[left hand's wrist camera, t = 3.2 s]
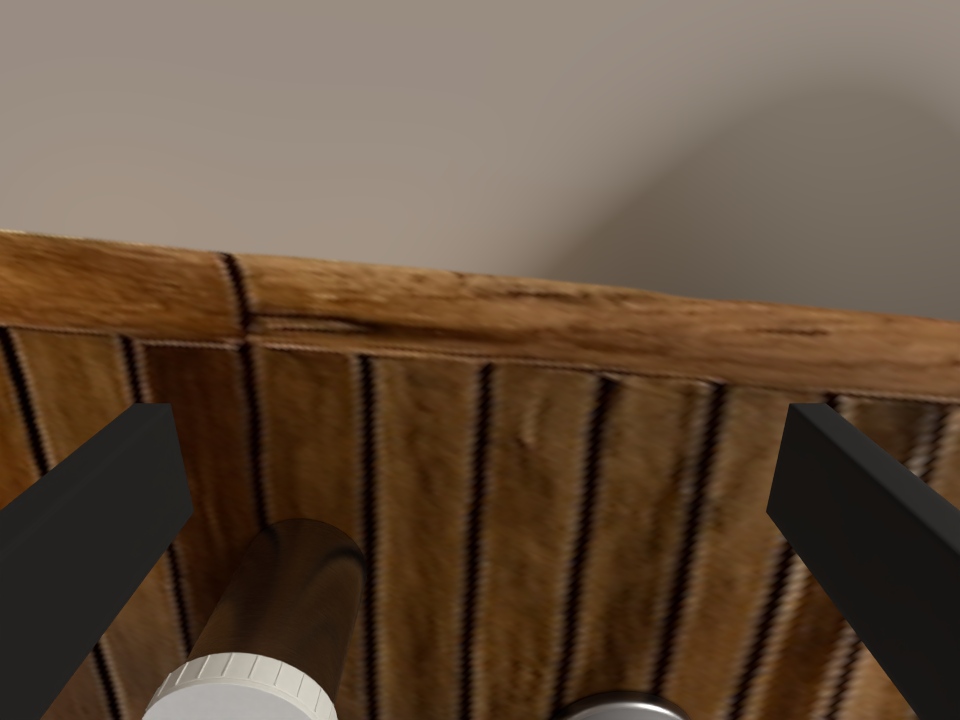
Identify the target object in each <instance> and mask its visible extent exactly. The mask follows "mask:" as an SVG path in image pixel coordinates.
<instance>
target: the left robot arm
mask: <svg viewBox="0 0 960 720" xmlns="http://www.w3.org/2000/svg"><path fill="white" fill-rule="evenodd" d="M193 512H194V510H193V505H192V501H191V496H190V491H189V487H188V482H187V478H186V473H185V468H184V464H183V459H182V454H181V450H180V445H179V441H178V436H177V431H176V427H175V422H174V418H173V413H172V408H171V404H170V403H134V404H133V405H132V406H131V407H129V408H128V409H127V410H126V411H124V412H123V413H122V414H121V415H119V416H118V417H117V418H116V419H114V420H113V421H112V422H111V423H109V424H108V425H107V426H106V427H104V428H103V429H102V430H101V431H99V432H98V433H97V434H96V435H94V436H93V437H92V438H91V439H89V440H88V441H87V442H86V443H84V444H83V445H82V446H81V447H79V448H78V449H77V450H76V451H74V452H73V453H72V454H71V455H69V456H68V457H67V458H66V459H64V460H63V461H62V462H61V463H59V464H58V465H57V466H56V467H54V468H53V469H52V470H51V471H49V472H48V473H47V474H46V475H44V476H43V477H42V478H41V479H39V480H38V481H37V482H36V483H34V484H33V485H32V486H31V487H29V488H28V489H27V490H26V491H24V492H23V493H22V494H21V495H19V496H18V497H17V498H16V499H14V500H13V501H12V502H11V503H9V504H8V505H7V506H6V507H4V508H3V509H2V510H1V511H0V720H40V718H41V717H42V716H43V714H44V713H45V712H46V710H47V709H48V708H49V706H50V705H51V704H52V702H53V701H54V700H55V698H56V697H57V696H58V694H59V693H60V692H61V690H62V689H63V688H64V686H65V685H66V683H67V682H68V681H69V679H70V678H71V677H72V675H73V674H74V673H75V671H76V670H77V669H78V667H79V666H80V665H81V663H82V662H83V661H84V659H85V658H86V657H87V655H88V654H89V652H90V651H91V650H92V648H93V647H94V646H95V644H96V643H97V642H98V640H99V639H100V638H101V636H102V635H103V634H104V632H105V631H106V630H107V628H108V627H109V626H110V624H111V623H112V622H113V620H114V619H115V617H116V616H117V615H118V613H119V612H120V611H121V609H122V608H123V607H124V605H125V604H126V603H127V601H128V600H129V599H130V597H131V596H132V595H133V593H134V592H135V591H136V589H137V588H138V586H139V585H140V584H141V582H142V581H143V580H144V578H145V577H146V576H147V574H148V573H149V572H150V570H151V569H152V568H153V566H154V565H155V564H156V562H157V561H158V560H159V558H160V557H161V556H162V554H163V553H164V551H165V550H166V549H167V547H168V546H169V545H170V543H171V542H172V541H173V539H174V538H175V537H176V535H177V534H178V533H179V531H180V530H181V529H182V527H183V526H184V525H185V523H186V522H187V520H188V519H189V518H190V516H191V515H192V514H193ZM766 512H767V514H768V515H769V516H770V518H771V519H772V521H773V522H774V523H775V525H776V526H777V527H778V529H779V530H780V531H781V533H782V534H783V535H784V537H785V538H786V539H787V541H788V542H789V543H790V545H791V546H792V547H793V549H794V550H795V551H796V553H797V554H798V556H799V557H800V558H801V560H802V561H803V562H804V564H805V565H806V566H807V568H808V569H809V570H810V572H811V573H812V574H813V576H814V577H815V578H816V580H817V581H818V582H819V584H820V585H821V586H822V588H823V589H824V591H825V592H826V593H827V595H828V596H829V597H830V599H831V600H832V601H833V603H834V604H835V605H836V607H837V608H838V609H839V611H840V612H841V613H842V615H843V616H844V617H845V619H846V620H847V622H848V623H849V624H850V626H851V627H852V628H853V630H854V631H855V632H856V634H857V635H858V636H859V638H860V639H861V640H862V642H863V643H864V644H865V646H866V647H867V648H868V650H869V651H870V652H871V654H872V655H873V657H874V658H875V659H876V661H877V662H878V663H879V665H880V666H881V667H882V669H883V670H884V671H885V673H886V674H887V675H888V677H889V678H890V679H891V681H892V682H893V683H894V685H895V686H896V688H897V689H898V690H899V692H900V693H901V694H902V696H903V697H904V698H905V700H906V701H907V702H908V704H909V705H910V706H911V708H912V709H913V710H914V712H915V713H916V714H917V716H918V717H919V718H920V720H960V511H959V510H958V509H957V508H956V507H954V506H953V505H952V504H951V503H949V502H948V501H947V500H946V499H944V498H943V497H942V496H941V495H939V494H938V493H937V492H936V491H934V490H933V489H932V488H931V487H929V486H928V485H927V484H926V483H924V482H923V481H922V480H921V479H919V478H918V477H917V476H916V475H914V474H913V473H912V472H911V471H909V470H908V469H907V468H906V467H904V466H903V465H902V464H901V463H899V462H898V461H897V460H896V459H894V458H893V457H892V456H891V455H889V454H888V453H887V452H886V451H884V450H883V449H882V448H881V447H879V446H878V445H877V444H876V443H874V442H873V441H872V440H871V439H869V438H868V437H867V436H866V435H864V434H863V433H862V432H861V431H859V430H858V429H857V428H856V427H854V426H853V425H852V424H851V423H849V422H848V421H847V420H846V419H844V418H843V417H842V416H841V415H839V414H838V413H837V412H836V411H834V410H833V409H832V408H831V407H829V406H828V405H827V404H826V403H790V404H789V408H788V413H787V418H786V422H785V427H784V431H783V436H782V441H781V445H780V450H779V454H778V459H777V464H776V468H775V473H774V477H773V482H772V487H771V491H770V496H769V501H768V505H767V510H766ZM552 720H690V718H689V717H688V716H687V714H686V713H685V712H684V711H683V710H682V709H680V708H679V707H678V706H676V705H675V704H673V703H671V702H670V701H668V700H665V699H663V698H661V697H658V696H655V695H651V694H647V693H641V692H631V691H618V692H608V693H602V694H598V695H594V696H591V697H588V698H585V699H582V700H580V701H577V702H575V703H573V704H572V705H570V706H568V707H567V708H565V709H564V710H562V711H561V712H560V713H558V714H557V715H556V716H555V717H554V718H553V719H552Z"/></svg>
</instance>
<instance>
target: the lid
mask: <svg viewBox="0 0 960 720" xmlns="http://www.w3.org/2000/svg"><path fill="white" fill-rule="evenodd" d="M145 711H146V713H145V714H144V716H143V718H142V720H337V715H336V711H335V709H334V704H332V702H331V700H330V698H329V697H328V695H327V694H326V693H325V691H324V690H323V689H322V688H321V687H320V686H319V685H318V684H317V683H316V682H315V681H314V680H313V679H312V678H310V677H309V676H308V675H306V674H305V673H303V672H302V671H300V670H298V669H297V668H295V667H293V666H291V665H288V664H286V663H284V662H282V661H279V660H276V659H273V658H269V657H265V656H261V655H256V654H249V653H235V652H234V653H219V654H212V655H207V656H204V657H200V658H197V659H194V660H192V661H189V662H186V664H184V665H182V666H180V667H179V668H177V669H176V670H175V671H173V672H172V673H169V675H168V677H167V678H166V679H165V680H164V682H163V683H162V685H161V686H160V687H158V689H157V691H156V692H155V694H154V696H153V698H152V699H151V701H150V703H149V705H148V706H147V708H146V710H145Z"/></svg>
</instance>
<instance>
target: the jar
mask: <svg viewBox="0 0 960 720" xmlns="http://www.w3.org/2000/svg"><path fill="white" fill-rule="evenodd" d="M366 576H367V568H366V562H365V559H364V556H363V554H362V552H361V550H360V549H359V547H358V546H357V545H356V543H355V542H354V541H353V540H352V539H351V538H350V537H349V536H347V535H346V534H345V533H343V532H342V531H341V530H339V529H337V528H335V527H333V526H331V525H329V524H326V523H323V522H319V521H315V520H309V519H291V520H285V521H281V522H278V523H275V524H273V525H270V526H269V527H267V528H265V529H264V530H263V531H261V532H260V533H259V534H258V535H257V536H256V537H255V538H254V539H253V541H252V542H251V544H250V546H249V548H248V549H247V551H246V553H245V555H244V557H243V558H242V560H241V562H240V564H239V566H238V568H237V569H236V571H235V573H234V575H233V577H232V578H231V580H230V582H229V584H228V586H227V588H226V589H225V591H224V593H223V595H222V597H221V598H220V600H219V602H218V604H217V606H216V608H215V609H214V611H213V613H212V615H211V617H210V619H209V620H208V622H207V624H206V626H205V628H204V629H203V631H202V633H201V635H200V637H199V639H198V640H197V642H196V644H195V646H194V648H193V649H192V651H191V653H190V655H189V657H188V659H187V660H186V662H189V661H192V660H194V659H197V658H200V657H204V656H207V655H212V654H219V653H234V652H235V653H249V654H256V655H261V656H265V657H269V658H273V659H276V660H279V661H282V662H284V663H286V664H288V665H291V666H293V667H295V668H297V669H298V670H300V671H302V672H303V673H305V674H306V675H308V676H309V677H310V678H312V679H313V680H314V681H315V682H316V683H317V684H318V685H319V686H320V687H321V688H322V689H323V690H324V691H325V693H326V694H327V695H328V697H329V698H330V700H331V702H332V704H334V705H335V701H336V697H337V693H338V689H339V685H340V681H341V677H342V673H343V669H344V665H345V661H346V657H347V653H348V650H349V646H350V642H351V638H352V634H353V630H354V626H355V622H356V618H357V614H358V610H359V606H360V602H361V598H362V594H363V590H364V586H365V582H366ZM186 662H185V664H186Z"/></svg>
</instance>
